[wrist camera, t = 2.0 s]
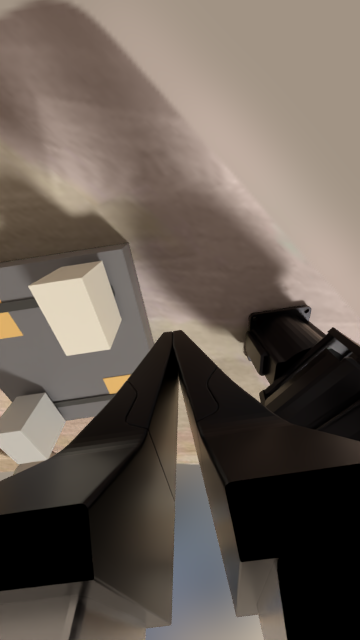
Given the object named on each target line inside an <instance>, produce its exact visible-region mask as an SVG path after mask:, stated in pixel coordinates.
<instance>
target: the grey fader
mask: <svg viewBox="0 0 360 640" xmlns="http://www.w3.org/2000/svg"><path fill="white" fill-rule="evenodd" d="M65 422H66V421H65V420H64V418H63V417H62V415H61V414H60V413H59V411H58V410H57V408H56V407H55V406H54V404H53V403H52V401H51V400H50V399H49V397H48V396H47V394H46V393H39V394H32V395H25V396H18V397H16V398H15V400H14V401H13V402H12V403H11V405H10V406H9V407H8V409H7V410H6V411H5V412H4V414H3V415H2V416H1V417H0V448H1V449H2V450H3V451H4V452H5V453H6V454H7V455H8V456H9V457H11V458H12V459H13V460H14V461H15V462H16V463H17V464H23V463H30V462H37V461H44V460H47V459H49V457H50V455H51V452H52V450H53V448H54V446H55V444H56V442H57V439H58V437H59V435H60V433H61V431H62V429H63V427H64V424H65Z"/></svg>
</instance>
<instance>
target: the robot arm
mask: <svg viewBox="0 0 360 640" xmlns="http://www.w3.org/2000/svg"><path fill="white" fill-rule="evenodd" d="M305 310H306V311H305ZM310 314H311V308H310V307H309V306H307V305H303V306H297V307H290V308H283V309H277V310H270V311H263V312H257V313H252V314H251V315H250V316H249V329H248V332H247V333H246V352H247V358H248V360H249V361H252V363H253V365H254V366H255V368H256V370H257V372H258V373H259V375H261V376H264V375H265V377H266V378H267V380H268V382H269V383H270V386H269V387H267V388H266V389H265V390H262V391H261V392H260V393H259V395H260V400H261V403H260V402H259V401H257V400H256V399H255V398H253V397H252V396H251V395H250V394H248V393H247V392H246V391H244V390H243V389H242V388H241V387H239V386H238V385H237V384H236V383H235V382H233V381H232V380H231V379H230V378H229V377H228V376H227V375H226V374H225V373H224V372H223V371H222V370H221V369H220V368H219V367H218V366H217V365H216V364H215V363H214V362H213V361H212V360H211V359H210V358H209V357H208V356H207V355H206V354H205V353H204V352H203V351H202V350H201V349H200V348H199V347H198V346H197V345H196V344H195V343H194V342H193V341H192V340H191V339H190V338H189V337H188V336H187V335H186V334H185V333H184V332H183V331H182V330H178V331H173V332H164V333H163V334H162V335H161V337H160V338H159V339H158V340H157V342H156V343H155V344H154V346H153V347H152V348H151V349H150V351H149V352H148V353H147V355H146V356H145V357H144V358H143V360H142V361H141V362H140V364H139V365H138V366H137V368H136V369H135V370H134V371H133V373H132V374H131V375H130V377H129V378H128V379H127V380H128V381H126V382H125V383H124V384H123V386H122V387H121V388H120V389H119V390H118V392H117V393H116V394H115V395H114V397H113V398H112V399H111V400H110V401H109V402H108V403H107V404H106V406H105V407H104V408H103V409H102V410H101V411H100V412H99V413H98V414H97V415H96V416H95V417H94V418H93V419H92V421H91V422H90V423H89V424H88V425H87V426H86V427H85V428H84V429H83V430H82V431H81V432H80V433H79V434H78V435H77V436H76V438H75V439H74V440H73V441H72V442H71V443H70V444H69V445H67V446H66V447H65V448H64V449H63V450H61V451H60V452H59V453H57V454H56V455H54V456H52V457H51V458H49V459H47V460H45V461H43V462H41V463H39V464H36V465H34V466H32V467H30V468H28V469H26V470H23V471H21V472H19V473H17V474H15V475H13V476H11V477H8V478H6V479H4V480H2V481H0V640H145V632H146V628H153V627H161V626H169V625H171V620H172V619H171V618H172V586H173V556H174V555H173V554H174V521H175V488H176V487H175V486H176V456H177V423H178V390H179V381H180V385H181V389H182V393H183V398H184V402H185V406H186V410H187V414H188V418H189V422H190V427H191V431H192V435H193V439H194V443H195V447H196V451H197V455H198V460H199V464H200V468H201V472H202V476H203V480H204V484H205V488H206V493H207V496H208V501H209V504H210V509H211V513H212V517H213V522H214V526H215V530H216V533H217V538H218V542H219V546H220V550H221V555H222V559H223V563H224V567H225V571H226V575H227V579H228V583H229V587H230V591H231V595H232V599H233V604H234V608H235V612H236V616H237V617H242V616H250V615H259V619H260V623H261V628H262V632H263V637H264V640H360V345H359V344H357V343H356V342H354V341H353V340H351V339H350V338H348V337H347V336H345V335H344V334H342V333H341V332H339V331H338V330H336V329H335V328H334V327H333V328H331V329H330V330H329V331H328V334H327V335H326V334H324V333H323V332H322V331H321V330H319V329H318V328H317V327H315V326H314V325H313V324H312V323H310V322H309V318H310ZM254 317H256V318H255V319H253V318H254Z"/></svg>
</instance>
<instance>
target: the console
mask: <svg viewBox="0 0 360 640" xmlns="http://www.w3.org/2000/svg"><path fill="white" fill-rule="evenodd" d="M96 261H102V262H103V265H104V268H105V271H106V274H107V277H108V280H109V283H110V286H111V289H112V292H113V295H114V298H115V301H116V304H117V307H118V310H119V313H120V316H121V319H122V320H121V323H120V326H119V328H118V331H117V333H116V336H115V338H114V341H113V344H112V346H111V349H109V350H103V351H96V352H89V353H83V354H76V355H69V356H66V354H65V352H64V351H63V349H62V347H61V345H60V343H59V342H58V340H57V338H56V336H55V334H54V332H53V331H52V329H51V327H50V325H49V323H48V322H47V320H46V318H45V316H44V314H43V313H42V311H41V309H40V307H39V305H38V303H37V302H36V300H35V298H34V296H33V294H32V293H31V291H30V289H29V287H28V286H29V285H31V284H32V283H34V282H36V281H38V280H39V279H41V278H43V277H45V276H46V275H48V274H50V273H52V272H53V271H55V270H57V269H59V268H60V267H64V266H71V265H77V264H84V263H90V262H96ZM153 346H154V342H153V338H152V334H151V330H150V326H149V322H148V318H147V314H146V310H145V306H144V302H143V298H142V294H141V290H140V286H139V282H138V278H137V274H136V270H135V266H134V262H133V258H132V254H131V250H130V246H129V243H123V244H117V245H110V246H104V247H97V248H91V249H85V250H78V251H72V252H65V253H59V254H52V255H46V256H40V257H33V258H27V259H20V260H14V261H7V262H1V263H0V389H1V390H2V391H3V392H4V393H5V394H6V395H7V397H8V398H9V399H10V400H11V401H12V402H13V401H14V400H15V398H16V397H18V396H25V395H32V394H39V393H46V394H47V396H48V397H49V399H50V400H51V401H52V403H53V404H54V406H55V407H56V408H57V410H58V411H59V413H60V414H61V415H62V417H63V418H64V420H65V421H67V420H74V419H81V418H88V417H95V416H96V415H97V414H98V413H99V412H100V411H101V410H102V409H103V408H104V407H105V406H106V404H107V403H108V402H109V401H110V400H111V399H112V398H113V397H114V395H115V394H116V393H117V392H118V390H119V389H120V388H121V387H122V386H123V384H124V383H125V382H126V381H128V380H127V379H128V378H129V377H130V375H131V374H132V373H133V371H134V370H135V369H136V368H137V366H138V365H139V364H140V362H141V361H142V360H143V358H144V357H145V356H146V355H147V353H148V352H149V351H150V349H151V348H152V347H153Z"/></svg>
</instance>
